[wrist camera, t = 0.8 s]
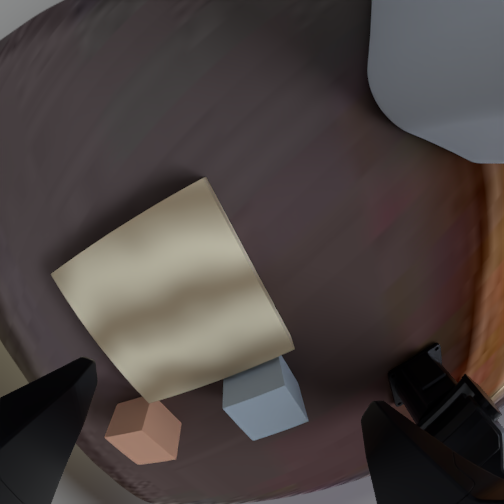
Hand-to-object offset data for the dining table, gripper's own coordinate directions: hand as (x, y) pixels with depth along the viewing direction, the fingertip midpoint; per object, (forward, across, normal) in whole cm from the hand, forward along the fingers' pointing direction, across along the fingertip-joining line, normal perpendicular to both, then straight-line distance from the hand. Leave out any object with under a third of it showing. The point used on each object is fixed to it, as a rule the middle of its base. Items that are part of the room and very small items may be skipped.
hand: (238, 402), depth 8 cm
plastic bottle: (+14, -13, -20) cm, 28 cm away
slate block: (+14, -4, +10) cm, 18 cm away
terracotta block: (+14, +6, +19) cm, 24 cm away
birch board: (+14, +4, +5) cm, 15 cm away
